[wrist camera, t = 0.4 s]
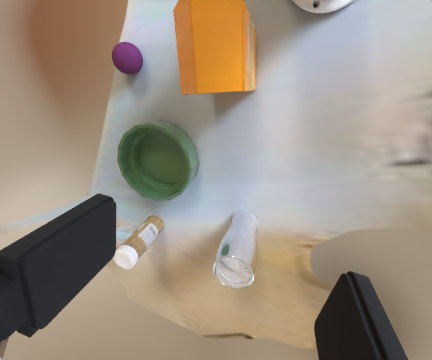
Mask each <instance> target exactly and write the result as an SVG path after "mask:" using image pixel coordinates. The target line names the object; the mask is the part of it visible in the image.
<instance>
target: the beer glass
mask: <svg viewBox="0 0 432 360" xmlns="http://www.w3.org/2000/svg"><path fill="white" fill-rule="evenodd" d="M258 228H259V219H258V217H257V216H256V215H255V214H254V213H253V212H251V211H248V210H240V211H237V212H236V213H234V214H233V216H232V218H231V227H230V229H229V230H228V232H227V233H226V234H225V236H224V237H223V239H222V240H221V242H220V245H219V247H218V250H217V253H216V256H215V260H214V264H213V268H212V270H213V274H214V277H215V278H216V280H217V281H218V282H219V283H221V284H222V285H224V286H225V287H228V288H231V289H243V288H246V287H248V286H249V285H250V284H251V283H252V281H253V279H254V273H255V269H256V265H257V258H258V247H257V240H256V232H257V230H258Z"/></svg>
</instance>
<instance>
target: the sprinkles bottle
mask: <svg viewBox="0 0 432 360" xmlns="http://www.w3.org/2000/svg"><path fill="white" fill-rule="evenodd" d="M163 228H164V222H163V220H162V219H161V218H160V217H158V216H156V215H152V216H149V217H148V219H147V220H146V221H145V222H144V223H143V224H142V225H141V226H140V227H139V228H138V229H137V230H136V231H135V232H134V233H133V234H132V236H131V237H130V238H129V239H128V240H127V241H126V242H125V243H124V244H123V245H121V246H120V247H118V249H117V250H116V252H115V255H114V257H113V260H114V262H115V263H116V264H117V265H118V266H119V267H120V268H123V269H131V268H132V267H133V266H134V265H135V264H136V263H137V261H138V259H139V257H140V256H141V255H142V254H143V253H144V252H145V251H146V249H147V248H148V247H149V246H150V244H151V243H152V242H153V241H154V239H155V238H156V237H157V235H158V234H159V233H160V231H162V230H163Z"/></svg>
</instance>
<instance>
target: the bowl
mask: <svg viewBox="0 0 432 360" xmlns="http://www.w3.org/2000/svg"><path fill="white" fill-rule="evenodd" d="M198 163H199V161H198V156H197V151H196V147H195V145H194V144H193V142H192V141H191V139H190V137H189V136H188V134H187V133H186V132H184V131H183V130H182V129H180V128H179V127H178V126H176V125H175V124H172V123H169V122H165V121H161V120H159V121H153V122H147V123H144V124H140V125H136V126H134V127H133V128H131V129H130V130H129V131H127V132H126V133H125V134H124V135H123V137H122V139H121V141H120V144H119V146H118V164H119V167H120V170H121V173H122V176H123V177H124V178H125V180H126V181H127V183H128V184H129V185H130V187H131V188H132V189H134V190H135V191H136V192H138V193H139V194H140V195H142V196H143V197H146V198H149V199H152V200H155V201H163V200H171V199H173V198H175V197H177V196H178V195H180V194H182V192H183V191H184V190H185V189H186V188H187V187H188V186H189V185H190V183H191V182H192V180H193V179H194V178H195V176H196V174H197V168H198Z"/></svg>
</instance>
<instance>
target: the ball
mask: <svg viewBox="0 0 432 360" xmlns="http://www.w3.org/2000/svg"><path fill="white" fill-rule="evenodd" d="M112 60H113V62H114V65H115V66H116V68H117V69H118V70H119V71H121V72H122V73H124V74H135V73H137V72H138V71H139V70H140V69H141V67H142V63H143V59H142V55H141V53H140V51H139V49H138V48H137V47H136V46H135V45H133V44H131V43H128V42H121V43H119V44H117V45H116V46H115V47H114V49H113V51H112Z"/></svg>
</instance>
